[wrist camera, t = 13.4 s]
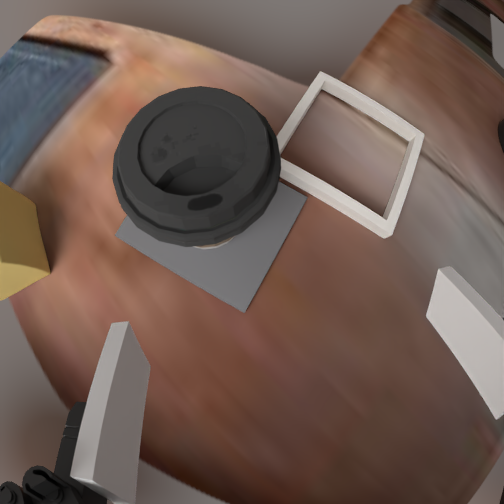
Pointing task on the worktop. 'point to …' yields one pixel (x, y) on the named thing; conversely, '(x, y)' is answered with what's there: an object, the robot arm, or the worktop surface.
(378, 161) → the worktop surface
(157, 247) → the rubber mat
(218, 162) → the coffee cup
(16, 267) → the cheese
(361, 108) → the holder frame
